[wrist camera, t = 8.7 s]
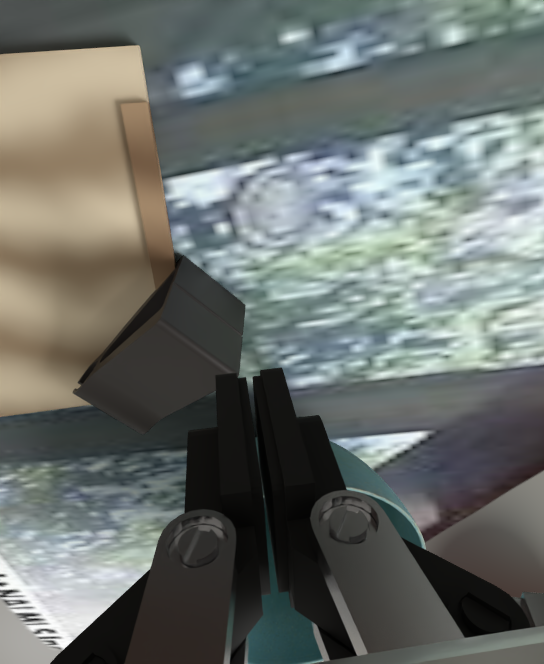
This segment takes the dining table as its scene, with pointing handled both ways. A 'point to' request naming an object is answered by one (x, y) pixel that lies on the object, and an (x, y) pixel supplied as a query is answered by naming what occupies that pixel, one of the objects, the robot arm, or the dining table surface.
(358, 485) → the plant pot
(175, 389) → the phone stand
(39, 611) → the dining table surface
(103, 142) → the board
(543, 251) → the dining table surface
